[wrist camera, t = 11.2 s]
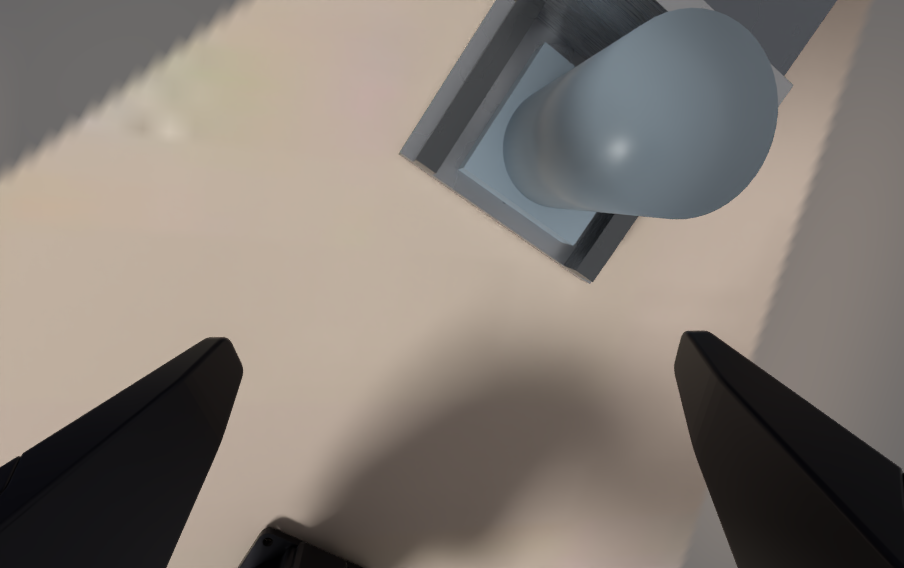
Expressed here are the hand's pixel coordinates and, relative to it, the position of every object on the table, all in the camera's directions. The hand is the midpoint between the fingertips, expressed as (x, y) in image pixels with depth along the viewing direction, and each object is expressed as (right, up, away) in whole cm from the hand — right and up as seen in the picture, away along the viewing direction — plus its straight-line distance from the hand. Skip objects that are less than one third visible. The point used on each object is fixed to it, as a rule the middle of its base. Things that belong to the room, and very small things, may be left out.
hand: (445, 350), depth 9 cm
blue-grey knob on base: (+5, +7, +12) cm, 15 cm away
